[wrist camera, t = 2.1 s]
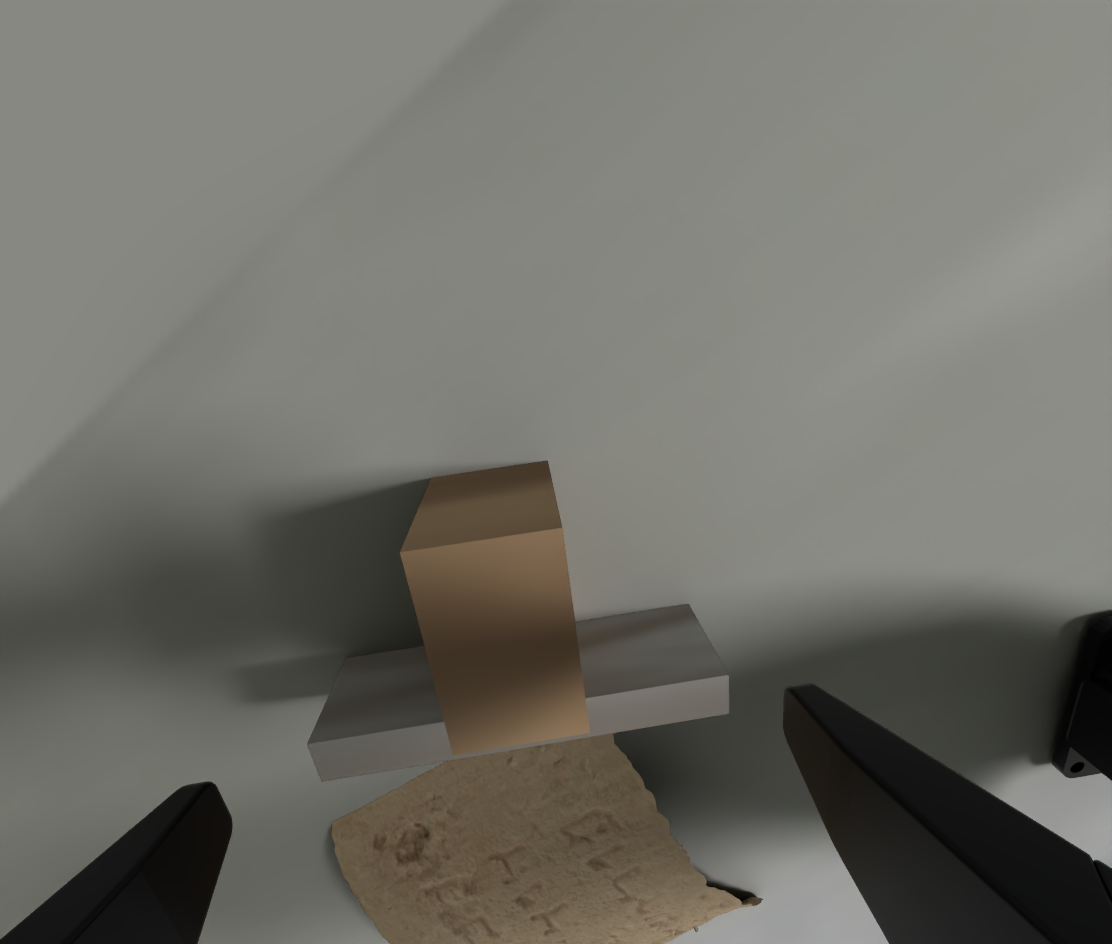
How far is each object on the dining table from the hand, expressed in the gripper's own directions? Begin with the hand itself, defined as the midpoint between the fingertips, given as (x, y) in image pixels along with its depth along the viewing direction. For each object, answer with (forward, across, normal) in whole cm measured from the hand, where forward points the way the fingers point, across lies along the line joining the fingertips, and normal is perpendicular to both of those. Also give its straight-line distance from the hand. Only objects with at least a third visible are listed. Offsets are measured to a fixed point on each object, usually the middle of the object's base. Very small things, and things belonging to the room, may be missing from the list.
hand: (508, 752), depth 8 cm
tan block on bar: (+6, 0, +1) cm, 6 cm away
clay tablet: (+7, 0, +12) cm, 14 cm away
